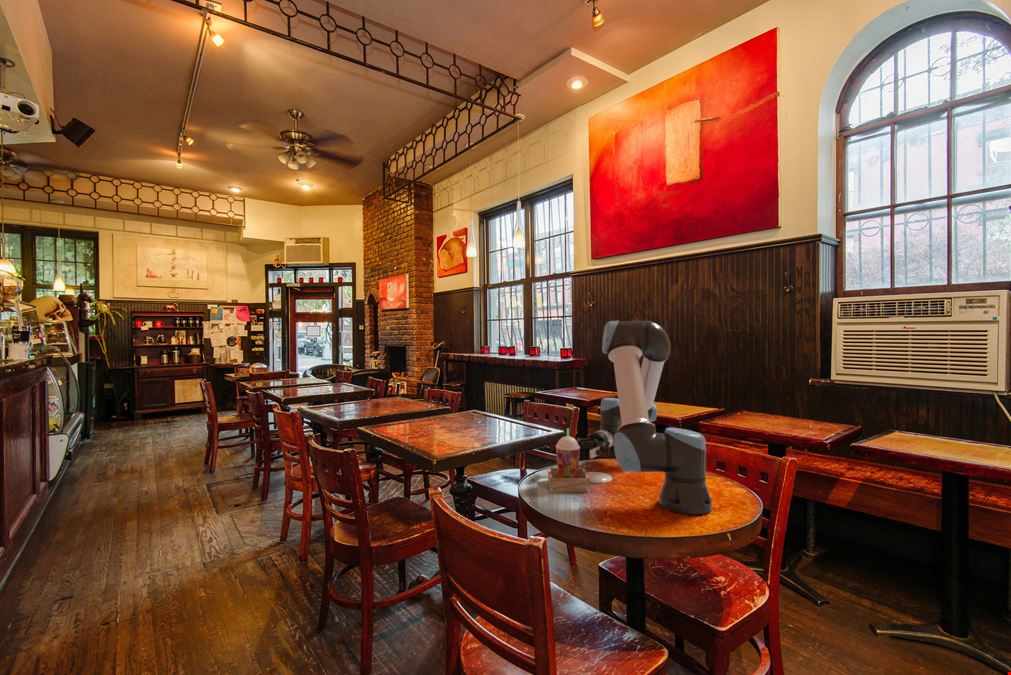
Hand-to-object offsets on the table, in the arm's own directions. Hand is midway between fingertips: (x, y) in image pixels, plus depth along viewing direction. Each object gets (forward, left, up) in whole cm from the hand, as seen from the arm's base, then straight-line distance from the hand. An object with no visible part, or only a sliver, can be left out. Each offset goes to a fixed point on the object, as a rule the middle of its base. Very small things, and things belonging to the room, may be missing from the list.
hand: (573, 451), depth 165 cm
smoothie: (-4, +2, -11) cm, 12 cm away
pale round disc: (+5, -9, -11) cm, 15 cm away
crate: (-4, +2, -11) cm, 12 cm away
